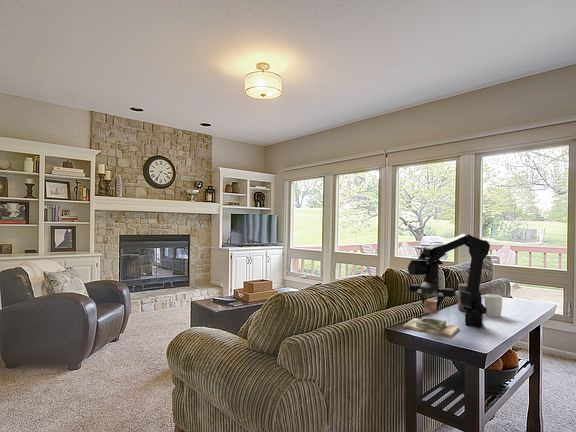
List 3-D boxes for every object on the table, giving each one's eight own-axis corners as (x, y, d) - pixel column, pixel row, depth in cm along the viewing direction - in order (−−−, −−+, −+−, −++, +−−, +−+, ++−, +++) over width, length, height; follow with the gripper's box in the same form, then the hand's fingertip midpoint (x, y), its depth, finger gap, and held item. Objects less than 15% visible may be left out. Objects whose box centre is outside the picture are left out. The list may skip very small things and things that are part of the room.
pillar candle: (481, 313, 182) (481, 284, 183) (460, 312, 184) (461, 283, 184) (475, 308, 192) (475, 281, 192) (455, 307, 194) (456, 280, 194)
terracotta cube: (439, 311, 158) (439, 300, 158) (435, 313, 154) (435, 302, 154) (427, 309, 161) (427, 298, 161) (424, 311, 157) (424, 300, 157)
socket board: (459, 329, 157) (459, 322, 157) (450, 337, 146) (451, 329, 146) (414, 320, 169) (414, 313, 169) (403, 327, 158) (403, 320, 158)
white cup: (480, 314, 181) (480, 294, 181) (491, 312, 184) (492, 293, 184) (494, 318, 174) (494, 298, 174) (506, 316, 177) (506, 296, 177)
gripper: (404, 274, 157) (404, 309, 157) (449, 279, 145) (448, 317, 146) (413, 271, 166) (413, 304, 166) (455, 275, 154) (455, 311, 154)
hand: (431, 309), depth 158 cm, fingers closed on terracotta cube, 5 cm apart
